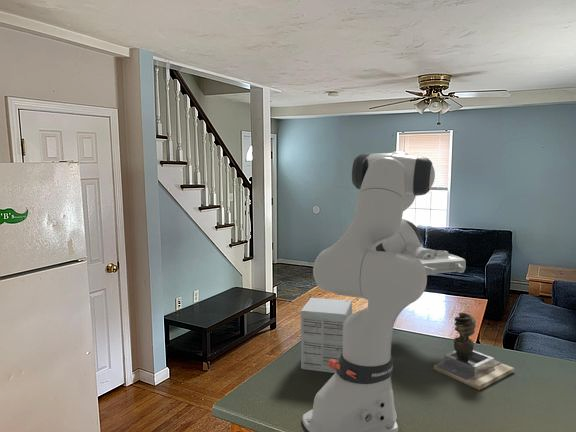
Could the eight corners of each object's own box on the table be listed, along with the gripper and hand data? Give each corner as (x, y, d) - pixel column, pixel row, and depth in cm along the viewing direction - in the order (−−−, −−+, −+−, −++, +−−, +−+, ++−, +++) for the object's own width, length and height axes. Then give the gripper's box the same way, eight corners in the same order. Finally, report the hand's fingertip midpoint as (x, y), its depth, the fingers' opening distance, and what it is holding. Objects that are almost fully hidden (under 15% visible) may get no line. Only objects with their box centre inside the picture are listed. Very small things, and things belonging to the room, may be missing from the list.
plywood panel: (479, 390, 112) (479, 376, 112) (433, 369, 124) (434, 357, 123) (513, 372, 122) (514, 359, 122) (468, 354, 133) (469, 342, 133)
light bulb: (457, 358, 128) (459, 308, 126) (476, 363, 124) (478, 312, 123) (450, 364, 124) (452, 314, 122) (470, 370, 120) (472, 318, 118)
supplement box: (310, 350, 137) (310, 296, 135) (352, 355, 134) (352, 300, 132) (300, 369, 125) (299, 310, 123) (345, 375, 121) (346, 314, 119)
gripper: (395, 254, 142) (418, 263, 129) (450, 250, 147) (477, 258, 134) (394, 272, 143) (417, 284, 129) (449, 268, 148) (476, 278, 134)
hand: (448, 271), depth 132 cm, fingers open, 8 cm apart
